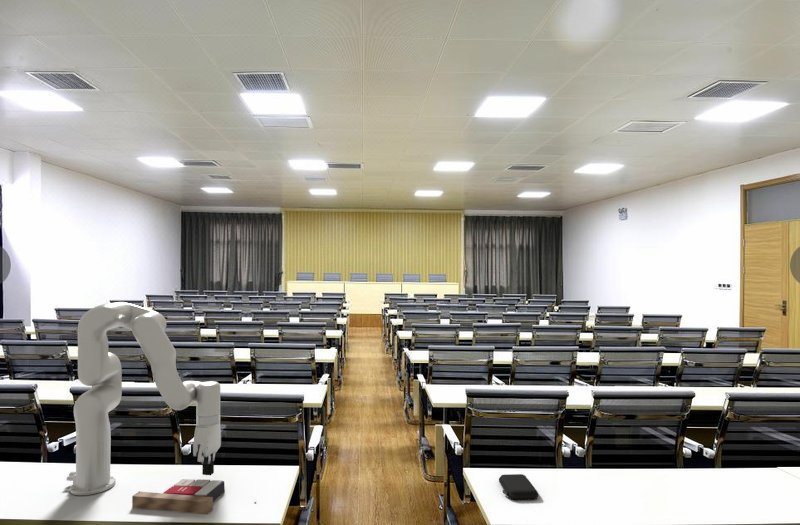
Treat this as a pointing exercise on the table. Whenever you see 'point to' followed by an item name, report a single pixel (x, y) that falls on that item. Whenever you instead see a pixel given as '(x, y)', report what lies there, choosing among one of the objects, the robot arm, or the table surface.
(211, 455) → the robot arm
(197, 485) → the calculator
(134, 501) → the bar
